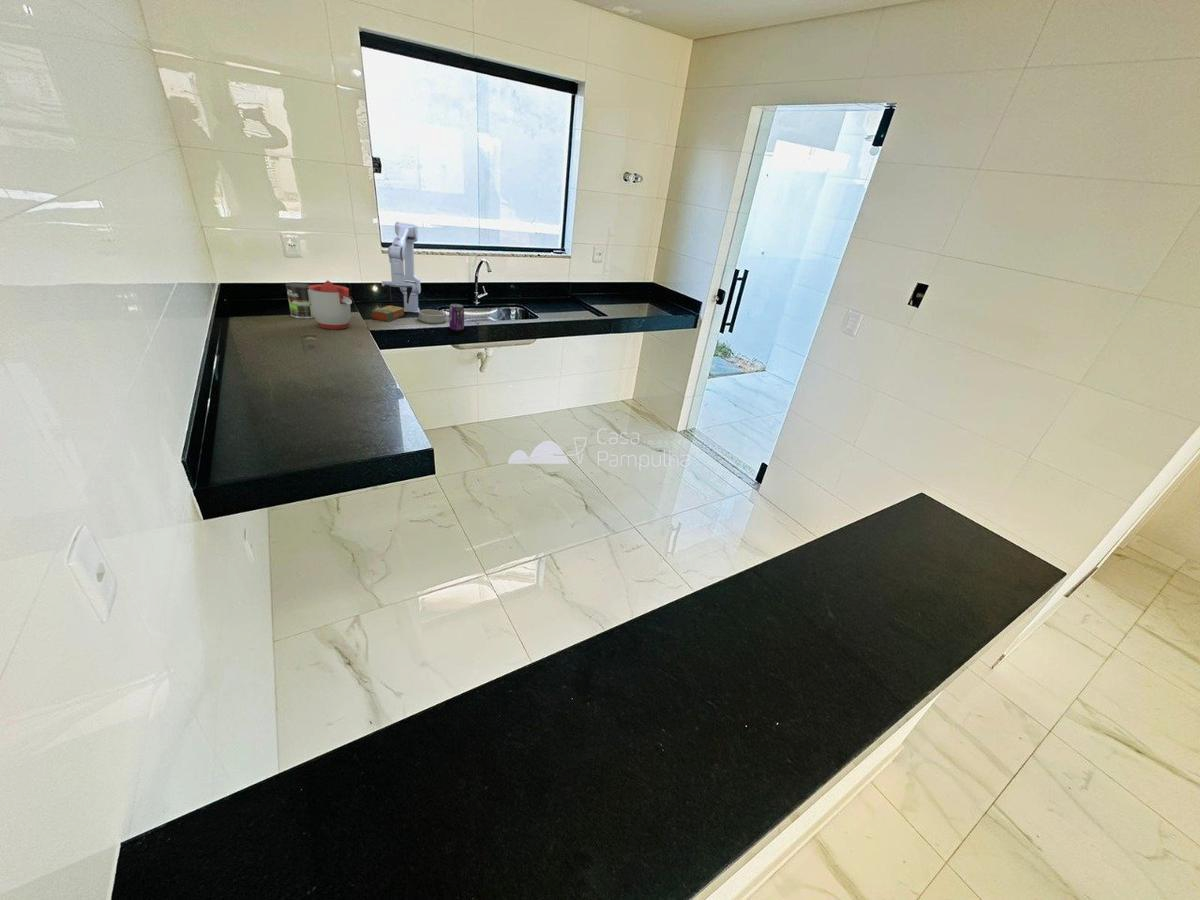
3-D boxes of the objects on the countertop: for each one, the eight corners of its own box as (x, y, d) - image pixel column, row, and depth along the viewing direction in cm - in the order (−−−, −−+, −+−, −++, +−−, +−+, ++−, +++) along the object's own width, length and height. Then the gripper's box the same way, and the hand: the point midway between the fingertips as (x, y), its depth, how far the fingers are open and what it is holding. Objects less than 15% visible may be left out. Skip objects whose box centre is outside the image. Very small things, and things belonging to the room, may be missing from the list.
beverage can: (461, 332, 231) (461, 307, 225) (447, 330, 230) (447, 305, 225) (465, 328, 237) (465, 305, 232) (451, 326, 237) (451, 302, 231)
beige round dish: (419, 316, 246) (418, 308, 244) (445, 318, 250) (445, 310, 248) (418, 322, 235) (417, 314, 233) (445, 324, 239) (445, 316, 237)
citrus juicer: (341, 334, 202) (335, 286, 192) (305, 326, 204) (297, 279, 194) (364, 326, 215) (359, 282, 206) (330, 320, 217) (324, 275, 208)
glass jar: (301, 319, 212) (296, 287, 205) (285, 315, 215) (279, 283, 208) (321, 316, 221) (317, 285, 214) (305, 312, 223) (300, 281, 217)
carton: (404, 315, 243) (404, 307, 241) (387, 321, 228) (386, 313, 226) (389, 313, 243) (389, 304, 241) (371, 318, 229) (370, 310, 227)
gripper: (380, 273, 214) (382, 302, 221) (413, 276, 219) (414, 305, 225) (381, 270, 220) (383, 299, 227) (414, 273, 225) (415, 302, 231)
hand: (399, 302), depth 226 cm, fingers open, 7 cm apart
